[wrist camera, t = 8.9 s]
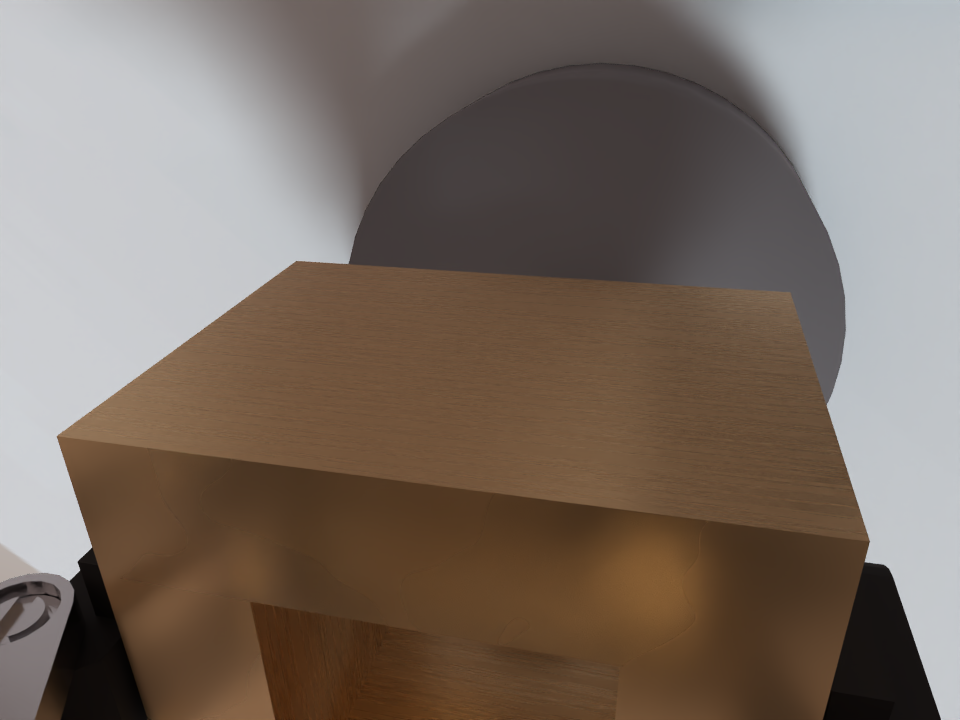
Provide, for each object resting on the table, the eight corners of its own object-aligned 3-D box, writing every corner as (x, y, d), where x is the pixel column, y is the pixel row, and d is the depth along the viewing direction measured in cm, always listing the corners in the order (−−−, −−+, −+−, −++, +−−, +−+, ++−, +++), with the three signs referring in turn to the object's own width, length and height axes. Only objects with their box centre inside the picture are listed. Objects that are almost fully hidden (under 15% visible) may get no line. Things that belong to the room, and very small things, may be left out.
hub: (867, 63, 16) (1018, 141, 8) (784, 492, 21) (834, 777, 13) (373, 63, 18) (159, 123, 11) (404, 446, 23) (270, 664, 16)
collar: (791, 292, 10) (869, 541, 6) (724, 673, 13) (742, 1023, 9) (296, 260, 11) (57, 435, 7) (344, 608, 15) (198, 876, 10)
